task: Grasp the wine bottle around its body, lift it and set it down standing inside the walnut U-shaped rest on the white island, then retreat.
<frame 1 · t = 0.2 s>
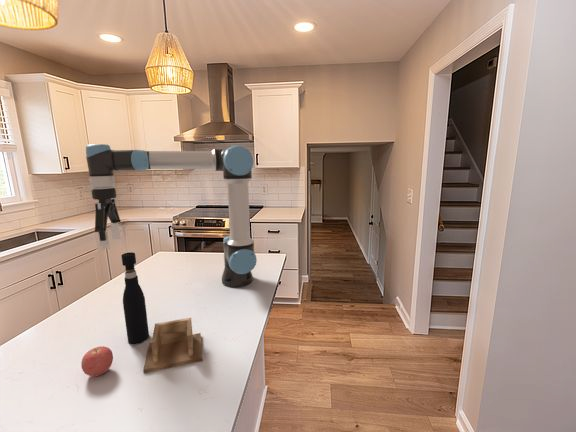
hand: (111, 243, 110), 28 cm above the counter, fingers open, 13 cm apart
apple: (99, 373, 82), on the counter
u rest: (174, 353, 90), on the counter
wine bottle: (138, 339, 98), on the counter
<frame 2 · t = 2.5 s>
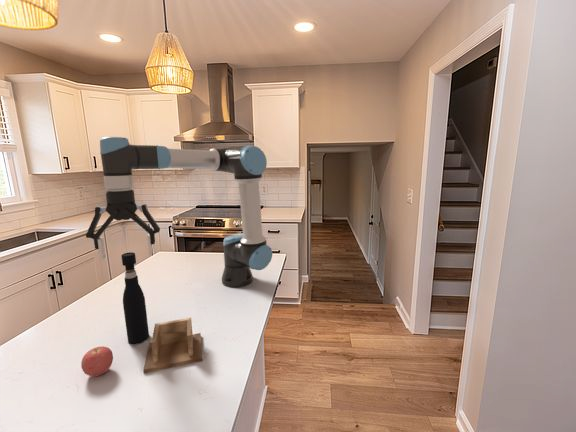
hand: (127, 256, 92), 29 cm above the counter, fingers open, 13 cm apart
nothing on the counter moved.
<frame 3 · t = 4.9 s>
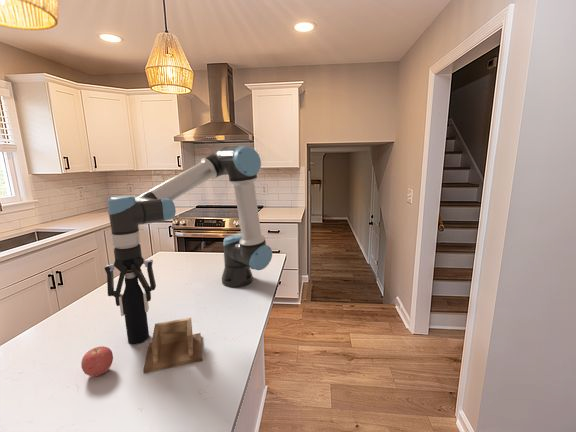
hand: (135, 311, 96), 10 cm above the counter, fingers closed on wine bottle, 6 cm apart
wine bottle: (138, 339, 98), on the counter, touching gripper
everything else where it was.
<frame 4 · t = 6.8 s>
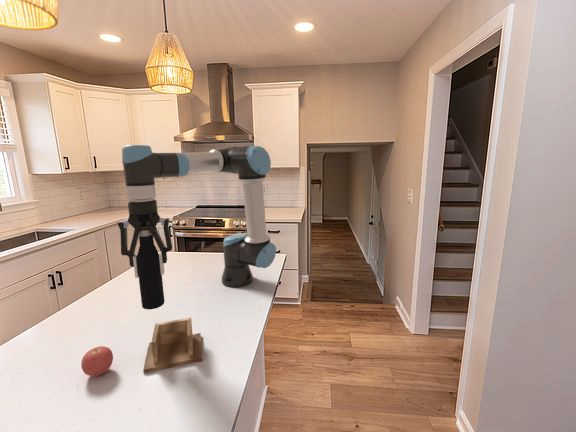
hand: (150, 274, 88), 25 cm above the counter, fingers closed on wine bottle, 6 cm apart
wine bottle: (153, 305, 90), point 15 cm above the counter, touching gripper
everything else where it was.
when the fingers open (13 cm above the counter, at t = 9.0 s): wine bottle drops 2 cm, resting on u rest.
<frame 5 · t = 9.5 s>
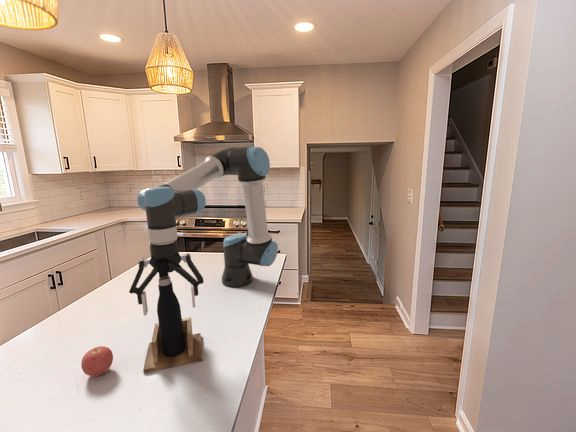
hand: (170, 309, 87), 15 cm above the counter, fingers open, 13 cm apart
wine bottle: (174, 350, 90), point 1 cm above the counter, touching u rest
everything else where it was.
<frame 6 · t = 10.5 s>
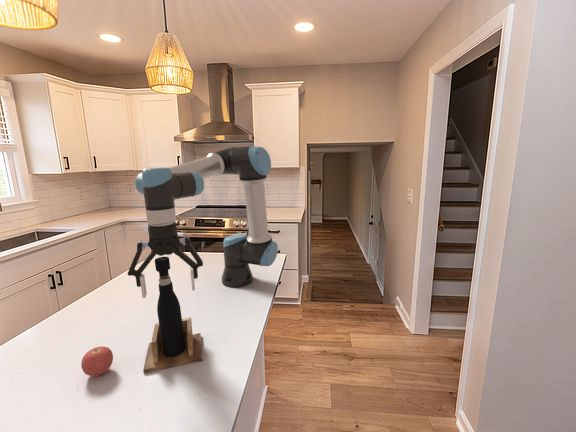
hand: (169, 292, 86), 21 cm above the counter, fingers open, 13 cm apart
nothing on the counter moved.
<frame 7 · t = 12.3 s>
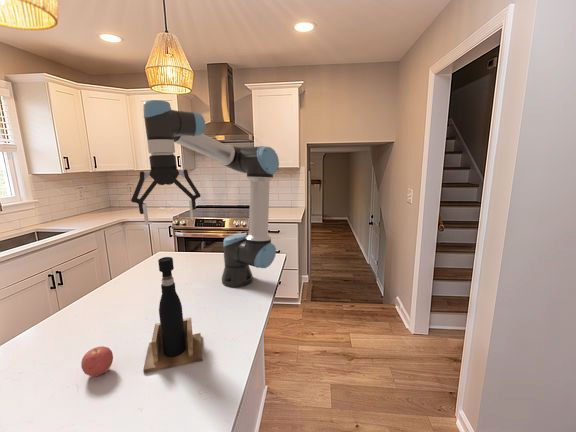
hand: (170, 221, 94), 40 cm above the counter, fingers open, 13 cm apart
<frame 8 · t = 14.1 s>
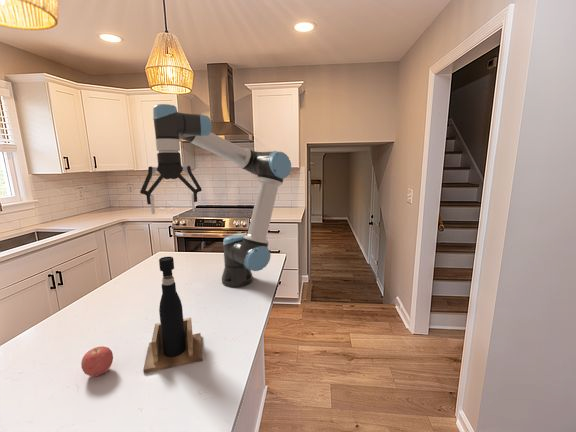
hand: (174, 212, 105), 41 cm above the counter, fingers open, 13 cm apart
nothing on the counter moved.
at the end: wine bottle inside the target area on the u rest (0.1 cm from its centre), point 1.0 cm above the u rest's base; wine bottle tilted 0°; the gripper is holding nothing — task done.
